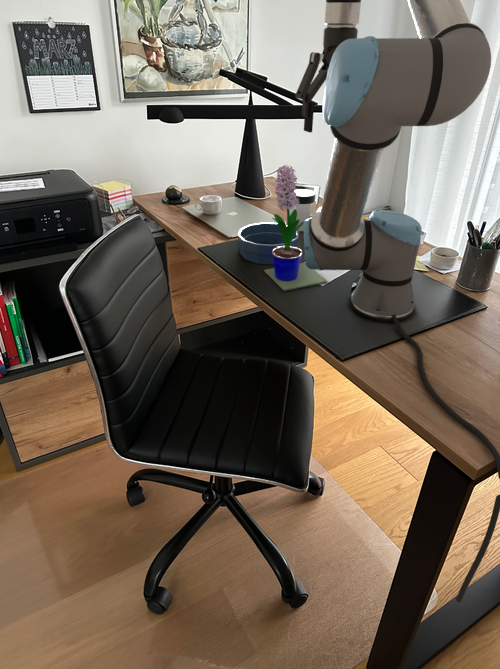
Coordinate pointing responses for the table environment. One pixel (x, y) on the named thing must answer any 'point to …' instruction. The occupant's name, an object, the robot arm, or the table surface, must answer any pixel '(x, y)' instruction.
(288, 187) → the hyacinth
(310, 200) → the jar
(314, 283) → the mat
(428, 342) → the table surface
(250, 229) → the bowl
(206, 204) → the teacup
